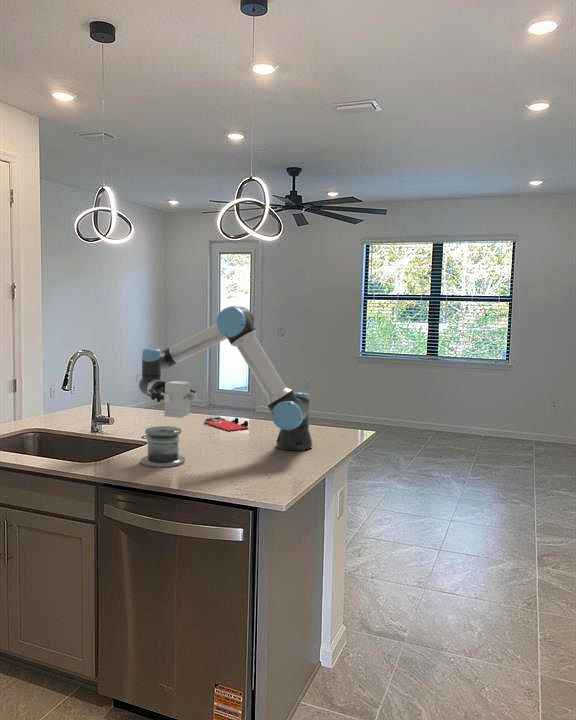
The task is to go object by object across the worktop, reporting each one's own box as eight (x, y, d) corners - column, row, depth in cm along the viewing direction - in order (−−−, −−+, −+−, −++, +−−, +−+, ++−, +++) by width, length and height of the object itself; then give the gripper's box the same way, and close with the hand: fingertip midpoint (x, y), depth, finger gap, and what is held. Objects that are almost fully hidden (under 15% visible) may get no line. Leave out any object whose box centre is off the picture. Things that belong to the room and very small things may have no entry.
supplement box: (182, 418, 214) (183, 383, 213) (163, 416, 216) (164, 382, 215) (190, 414, 221) (191, 381, 220) (171, 413, 223) (172, 380, 222)
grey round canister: (193, 460, 219) (194, 429, 218) (164, 470, 205) (164, 436, 204) (161, 454, 227) (162, 423, 226) (131, 463, 214) (131, 430, 213)
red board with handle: (222, 418, 304) (196, 421, 295) (222, 413, 304) (196, 416, 295) (255, 429, 281) (228, 433, 272) (255, 423, 280) (228, 427, 271)
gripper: (186, 397, 239) (209, 406, 221) (131, 400, 227) (152, 410, 208) (186, 379, 239) (210, 386, 220) (132, 381, 226) (152, 389, 208)
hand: (182, 398), depth 214 cm, fingers closed on supplement box, 10 cm apart
